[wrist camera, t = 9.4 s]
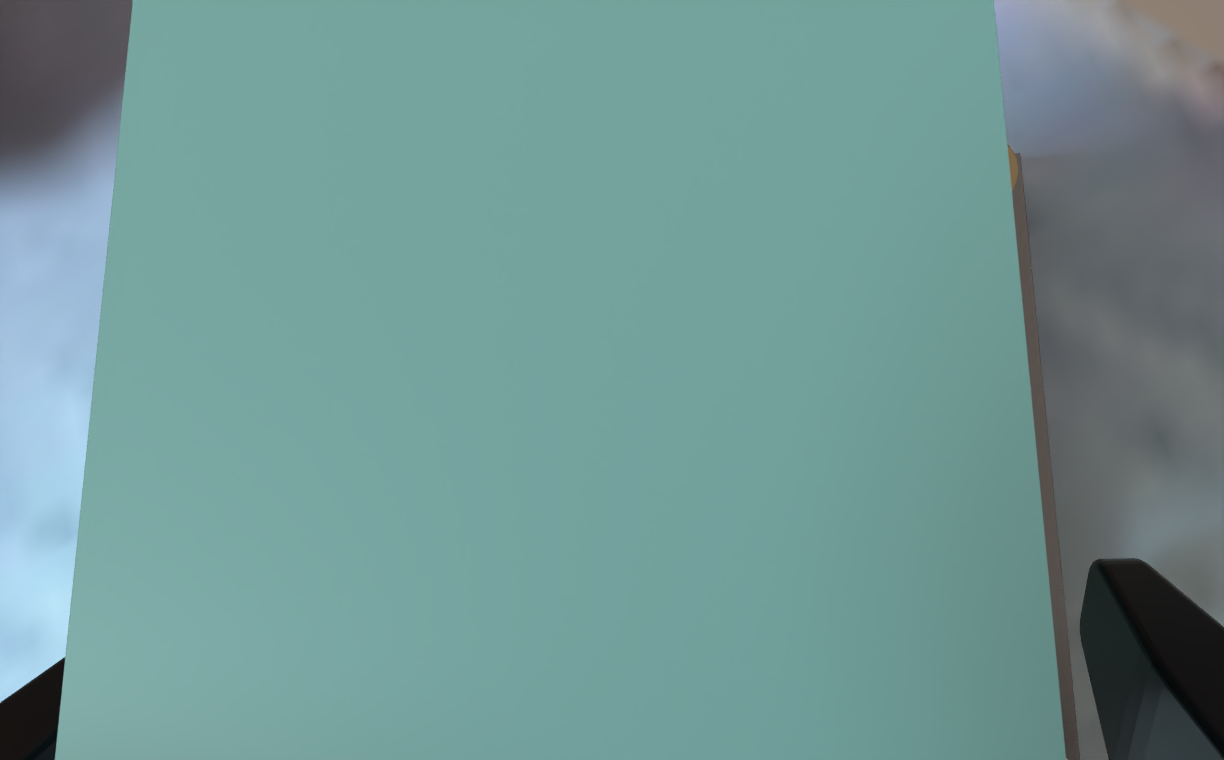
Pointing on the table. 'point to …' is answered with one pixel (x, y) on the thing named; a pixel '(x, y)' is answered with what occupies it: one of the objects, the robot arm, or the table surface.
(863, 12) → the teal block
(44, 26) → the table surface
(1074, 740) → the plate
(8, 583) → the table surface
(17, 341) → the table surface
